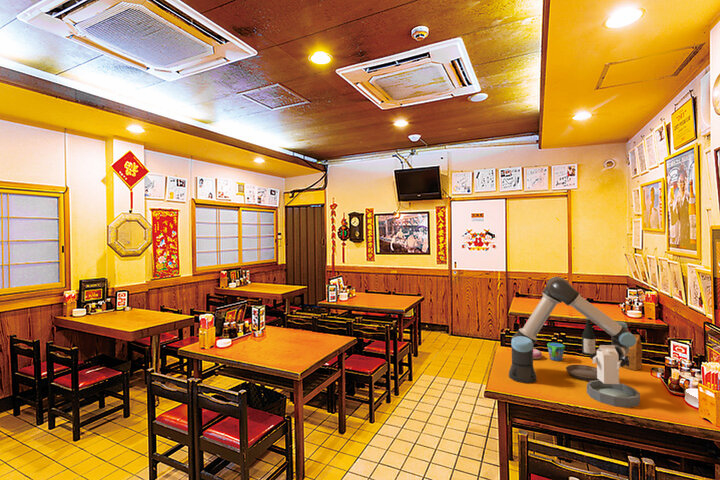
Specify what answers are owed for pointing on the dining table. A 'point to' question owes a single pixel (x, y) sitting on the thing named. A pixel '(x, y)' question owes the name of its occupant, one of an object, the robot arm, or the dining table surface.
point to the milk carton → (607, 364)
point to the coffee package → (635, 355)
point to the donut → (536, 354)
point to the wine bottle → (588, 339)
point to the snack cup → (556, 351)
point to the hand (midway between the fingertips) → (605, 363)
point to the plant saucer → (583, 372)
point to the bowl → (613, 394)
